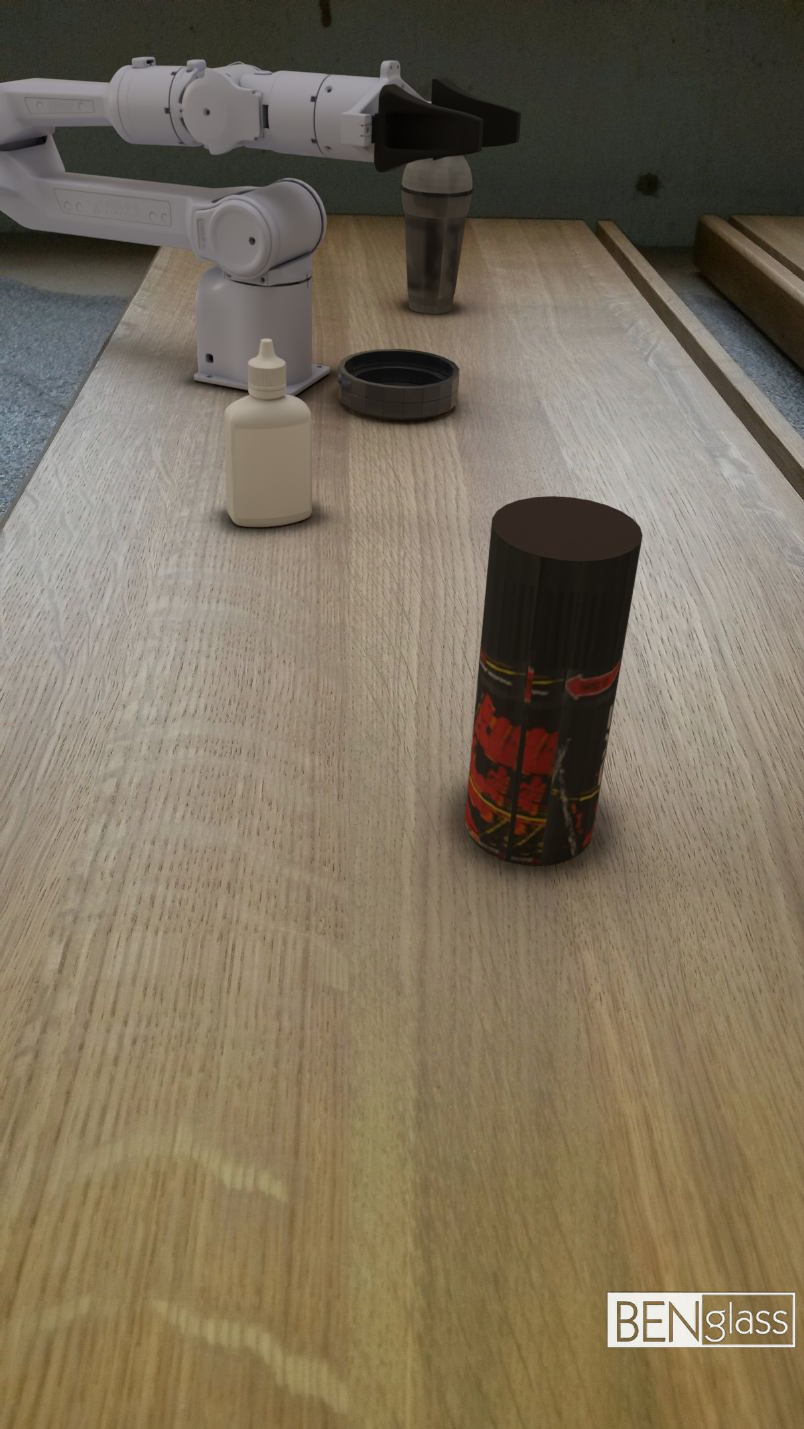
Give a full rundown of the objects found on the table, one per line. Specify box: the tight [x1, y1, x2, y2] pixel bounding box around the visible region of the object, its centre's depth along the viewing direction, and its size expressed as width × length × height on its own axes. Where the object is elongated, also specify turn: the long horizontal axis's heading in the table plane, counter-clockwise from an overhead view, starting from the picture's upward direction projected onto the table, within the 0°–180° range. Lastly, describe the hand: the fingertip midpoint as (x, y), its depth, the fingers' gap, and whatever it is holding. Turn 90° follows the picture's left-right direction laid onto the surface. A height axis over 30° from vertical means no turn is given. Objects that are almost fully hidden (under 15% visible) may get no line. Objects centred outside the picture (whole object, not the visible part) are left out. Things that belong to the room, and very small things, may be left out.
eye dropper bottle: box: [223, 339, 313, 528], centre depth 79 cm, size 4×6×12 cm
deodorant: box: [464, 495, 643, 866], centre depth 52 cm, size 6×6×15 cm
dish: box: [337, 348, 461, 422], centre depth 102 cm, size 10×10×3 cm
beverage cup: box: [399, 155, 475, 315], centre depth 121 cm, size 7×7×20 cm
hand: (500, 131), depth 88 cm, fingers open, 7 cm apart
